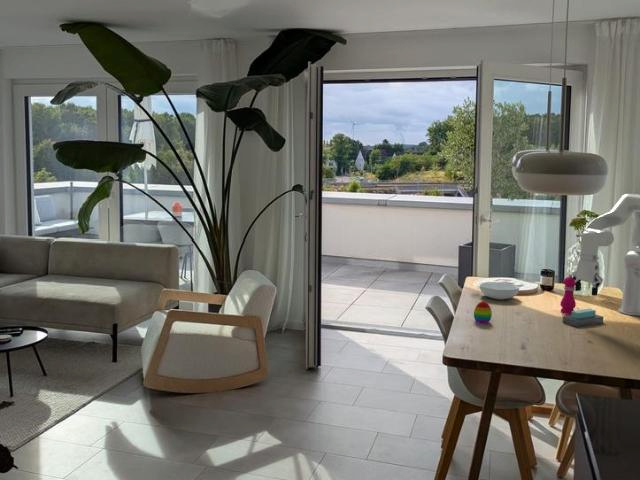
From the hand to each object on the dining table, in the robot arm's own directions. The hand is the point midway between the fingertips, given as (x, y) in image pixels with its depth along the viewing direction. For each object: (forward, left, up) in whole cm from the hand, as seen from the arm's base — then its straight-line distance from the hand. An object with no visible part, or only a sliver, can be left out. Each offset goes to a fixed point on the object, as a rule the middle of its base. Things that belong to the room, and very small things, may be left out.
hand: (586, 292), depth 311 cm
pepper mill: (-7, -16, -15) cm, 23 cm away
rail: (0, 0, -14) cm, 14 cm away
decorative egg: (+45, -19, -15) cm, 51 cm away
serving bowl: (+4, -54, -15) cm, 56 cm away
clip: (0, 0, -14) cm, 14 cm away
